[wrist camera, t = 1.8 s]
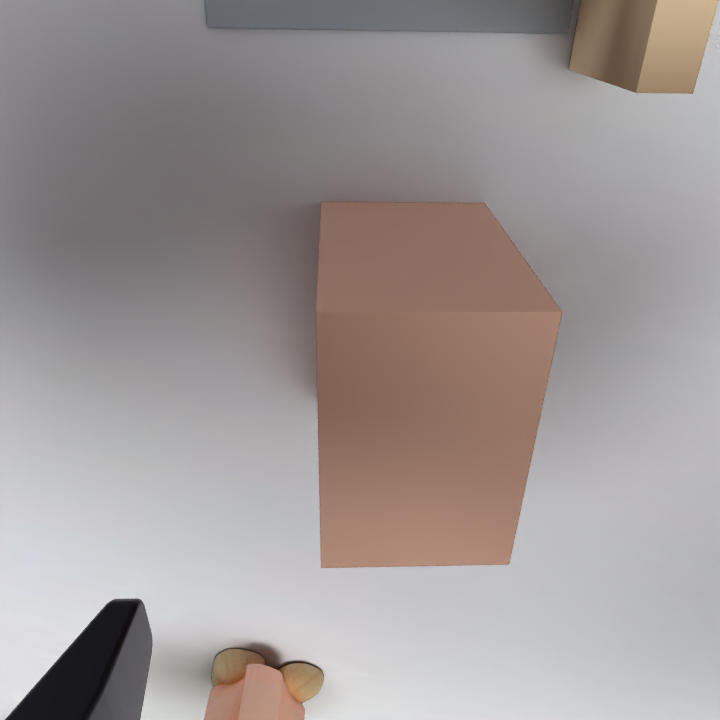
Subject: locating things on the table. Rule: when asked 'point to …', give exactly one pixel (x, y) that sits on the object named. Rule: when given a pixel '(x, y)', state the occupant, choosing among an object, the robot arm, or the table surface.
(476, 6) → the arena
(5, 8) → the table surface
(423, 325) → the terracotta block
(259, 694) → the grandmother figurine
